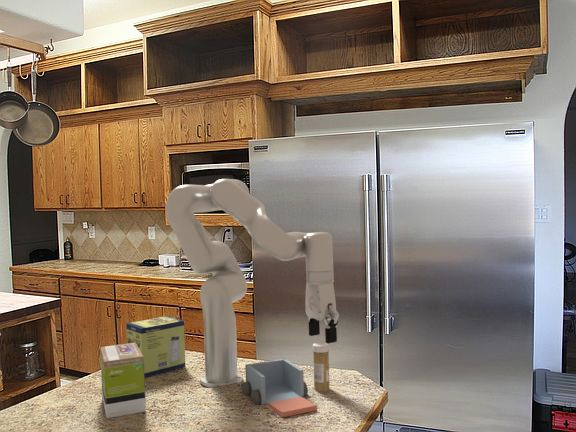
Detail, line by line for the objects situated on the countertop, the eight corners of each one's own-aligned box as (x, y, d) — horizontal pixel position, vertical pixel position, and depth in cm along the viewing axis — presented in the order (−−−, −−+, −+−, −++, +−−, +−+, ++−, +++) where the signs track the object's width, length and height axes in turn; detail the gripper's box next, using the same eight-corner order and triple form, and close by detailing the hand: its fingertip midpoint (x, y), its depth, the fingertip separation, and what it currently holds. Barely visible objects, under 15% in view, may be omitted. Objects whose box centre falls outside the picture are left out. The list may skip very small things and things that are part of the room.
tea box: (101, 399, 145) (99, 345, 145) (138, 393, 149) (137, 341, 149) (105, 419, 131) (103, 360, 131) (146, 412, 135) (145, 354, 135)
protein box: (126, 371, 169) (125, 323, 169) (169, 360, 180) (168, 315, 179) (142, 379, 161) (140, 328, 161) (186, 367, 172) (185, 319, 171)
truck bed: (241, 394, 146) (240, 365, 146) (289, 385, 153) (289, 357, 152) (257, 409, 136) (256, 378, 135) (308, 398, 142) (308, 369, 142)
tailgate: (268, 402, 136) (282, 412, 128) (300, 396, 140) (316, 405, 132) (268, 407, 136) (282, 417, 128) (301, 401, 140) (317, 410, 132)
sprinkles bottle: (333, 392, 146) (332, 344, 146) (320, 396, 144) (319, 346, 143) (323, 387, 150) (322, 340, 150) (310, 391, 147) (309, 343, 147)
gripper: (294, 275, 152) (296, 334, 153) (323, 281, 137) (325, 347, 137) (317, 272, 155) (319, 330, 156) (348, 278, 140) (350, 343, 140)
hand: (322, 338), depth 146 cm, fingers open, 9 cm apart
